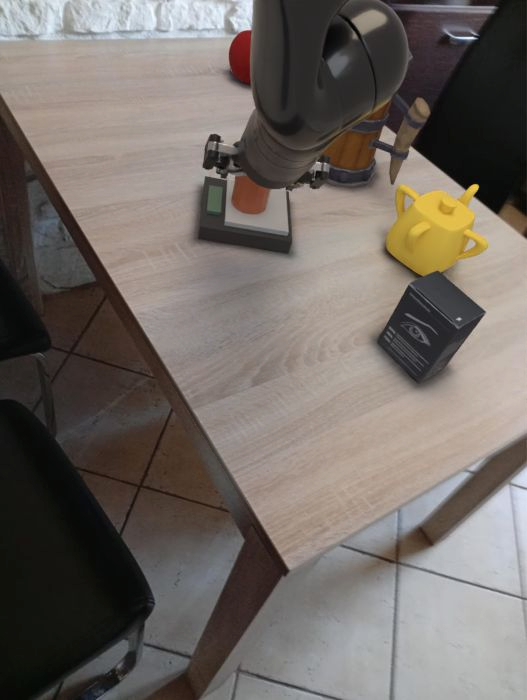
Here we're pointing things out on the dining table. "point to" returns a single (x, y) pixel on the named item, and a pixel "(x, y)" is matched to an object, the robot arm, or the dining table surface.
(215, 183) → the scale
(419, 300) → the box
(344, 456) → the dining table surface
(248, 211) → the cup
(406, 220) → the teapot
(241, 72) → the apple
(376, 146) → the mug
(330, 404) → the dining table surface
